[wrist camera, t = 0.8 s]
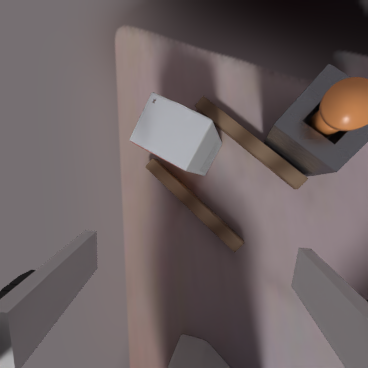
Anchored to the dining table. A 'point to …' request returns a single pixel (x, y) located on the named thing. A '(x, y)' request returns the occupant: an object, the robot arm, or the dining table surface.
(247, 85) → the dining table surface
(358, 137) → the grey block with hole
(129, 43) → the dining table surface
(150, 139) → the small box
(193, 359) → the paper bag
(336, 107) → the orange piece
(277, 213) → the dining table surface
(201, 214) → the track
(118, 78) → the dining table surface
